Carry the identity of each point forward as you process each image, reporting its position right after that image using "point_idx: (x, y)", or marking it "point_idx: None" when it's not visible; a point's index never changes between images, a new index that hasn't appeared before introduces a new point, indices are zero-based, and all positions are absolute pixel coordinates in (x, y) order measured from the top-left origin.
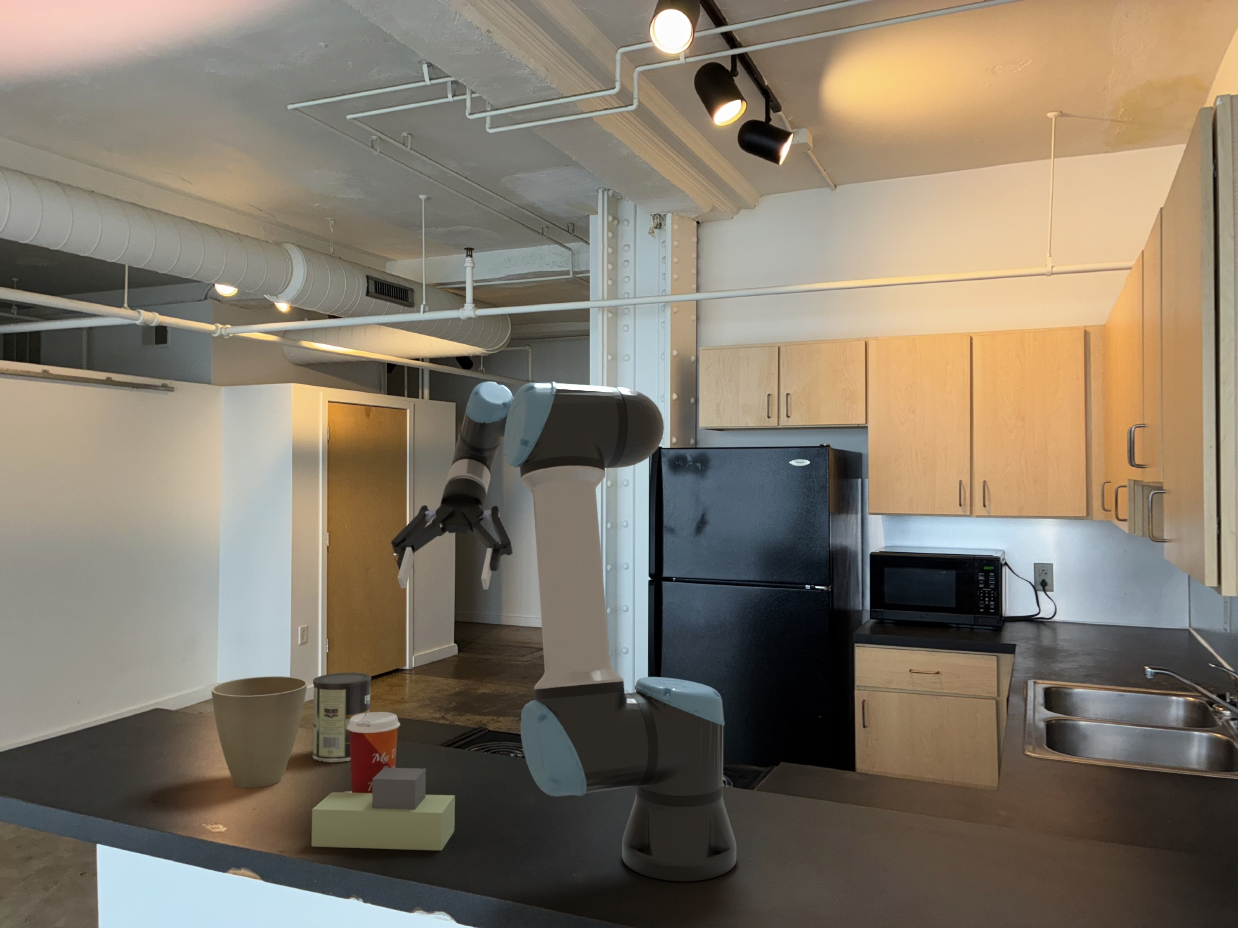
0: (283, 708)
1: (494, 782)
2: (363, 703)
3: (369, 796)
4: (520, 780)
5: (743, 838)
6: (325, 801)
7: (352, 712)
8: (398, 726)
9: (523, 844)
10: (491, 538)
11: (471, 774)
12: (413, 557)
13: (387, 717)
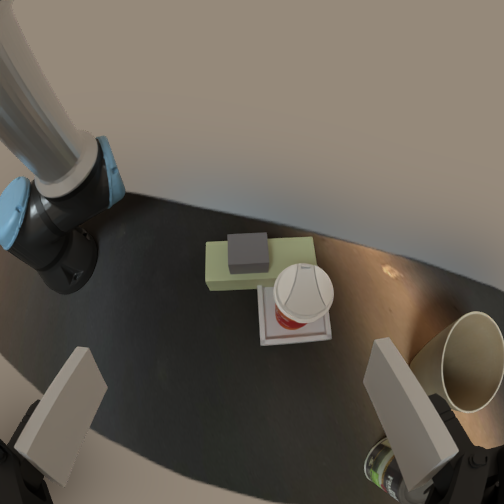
0: (436, 347)
1: (205, 414)
2: (390, 473)
3: (280, 269)
4: (181, 420)
5: (38, 293)
6: (311, 253)
7: (394, 458)
8: (273, 293)
9: (154, 271)
10: (3, 497)
11: (235, 435)
12: (410, 483)
13: (288, 290)
